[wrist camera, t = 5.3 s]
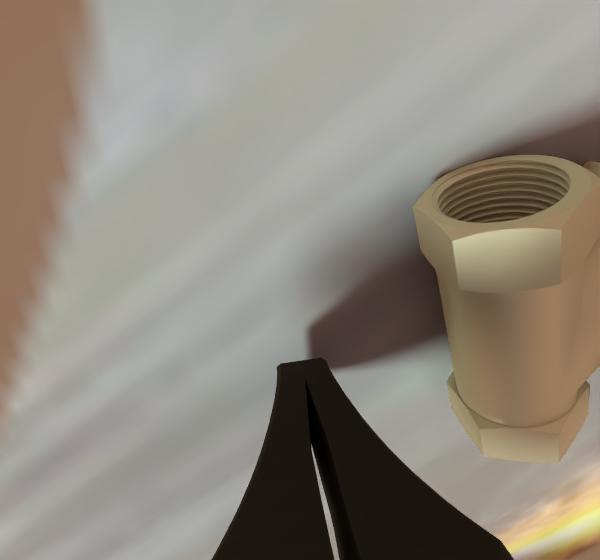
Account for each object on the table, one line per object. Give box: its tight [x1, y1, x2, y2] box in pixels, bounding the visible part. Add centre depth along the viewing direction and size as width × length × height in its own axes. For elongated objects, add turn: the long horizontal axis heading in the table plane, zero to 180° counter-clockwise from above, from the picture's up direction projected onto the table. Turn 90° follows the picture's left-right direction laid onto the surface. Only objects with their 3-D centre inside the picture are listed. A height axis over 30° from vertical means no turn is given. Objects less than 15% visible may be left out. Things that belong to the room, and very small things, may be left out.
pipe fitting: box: [412, 155, 600, 463], centre depth 12 cm, size 8×4×7 cm
